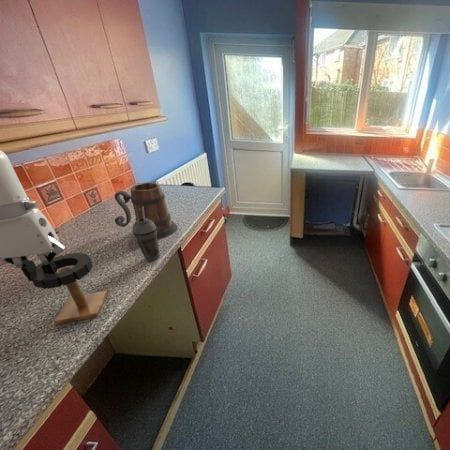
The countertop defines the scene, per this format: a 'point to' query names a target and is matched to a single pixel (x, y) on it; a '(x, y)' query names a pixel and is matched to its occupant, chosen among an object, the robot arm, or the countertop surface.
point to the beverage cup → (147, 237)
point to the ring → (65, 277)
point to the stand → (80, 304)
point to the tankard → (147, 207)
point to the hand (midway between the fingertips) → (43, 275)
